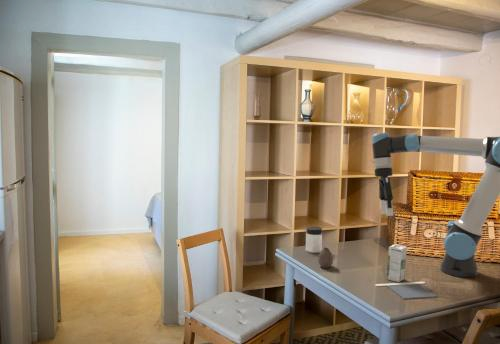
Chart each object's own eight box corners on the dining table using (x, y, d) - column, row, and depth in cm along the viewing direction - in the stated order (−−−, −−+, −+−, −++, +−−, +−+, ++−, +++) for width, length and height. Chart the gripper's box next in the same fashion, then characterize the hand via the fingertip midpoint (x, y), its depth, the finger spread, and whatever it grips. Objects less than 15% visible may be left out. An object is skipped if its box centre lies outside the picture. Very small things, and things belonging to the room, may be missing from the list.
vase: (327, 263, 193) (328, 245, 192) (335, 268, 187) (336, 249, 186) (315, 264, 191) (315, 246, 190) (322, 269, 184) (323, 250, 184)
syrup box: (391, 276, 178) (393, 243, 176) (405, 279, 174) (407, 246, 173) (386, 279, 174) (388, 246, 172) (400, 283, 170) (402, 249, 168)
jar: (308, 253, 209) (309, 230, 208) (302, 248, 217) (303, 226, 216) (324, 252, 211) (325, 229, 210) (318, 247, 219) (319, 226, 218)
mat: (418, 285, 168) (418, 284, 167) (437, 297, 156) (437, 296, 156) (387, 287, 165) (387, 286, 165) (403, 299, 153) (403, 298, 153)
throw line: (423, 282, 171) (423, 281, 171) (425, 283, 169) (425, 283, 169) (375, 285, 167) (375, 284, 167) (376, 286, 165) (376, 285, 165)
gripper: (370, 169, 196) (374, 213, 195) (378, 166, 172) (383, 217, 170) (386, 168, 195) (390, 212, 194) (397, 165, 171) (401, 216, 169)
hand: (387, 214), depth 182 cm, fingers open, 13 cm apart
